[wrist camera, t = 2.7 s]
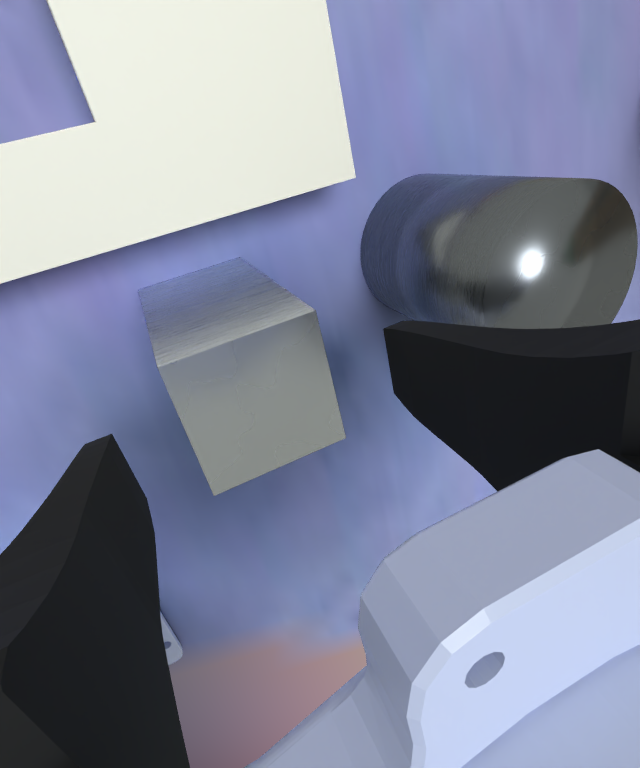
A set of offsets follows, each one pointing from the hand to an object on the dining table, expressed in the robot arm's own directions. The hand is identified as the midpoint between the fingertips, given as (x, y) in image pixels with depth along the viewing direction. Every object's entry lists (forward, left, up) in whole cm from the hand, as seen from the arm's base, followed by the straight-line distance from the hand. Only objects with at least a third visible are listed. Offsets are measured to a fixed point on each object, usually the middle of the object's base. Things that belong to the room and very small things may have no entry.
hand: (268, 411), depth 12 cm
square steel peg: (0, 0, -8) cm, 8 cm away
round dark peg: (0, -10, -8) cm, 13 cm away
